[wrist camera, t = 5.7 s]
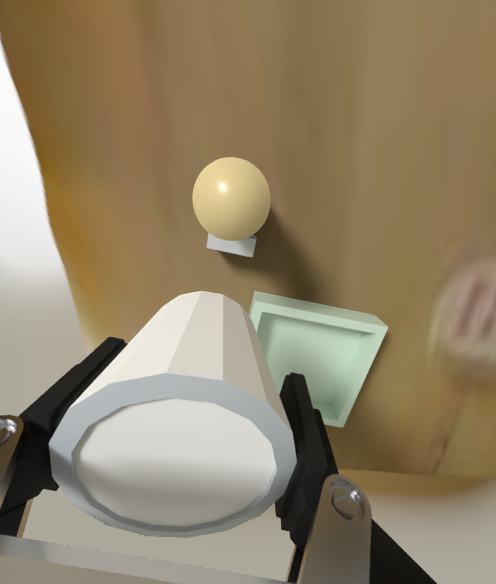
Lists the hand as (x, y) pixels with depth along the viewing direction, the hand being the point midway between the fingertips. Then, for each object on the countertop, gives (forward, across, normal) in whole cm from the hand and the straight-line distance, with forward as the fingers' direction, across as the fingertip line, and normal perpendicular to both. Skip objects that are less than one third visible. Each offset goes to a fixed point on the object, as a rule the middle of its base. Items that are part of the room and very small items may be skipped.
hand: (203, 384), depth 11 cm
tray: (+13, -8, +6) cm, 16 cm away
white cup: (+3, +1, 0) cm, 3 cm away
